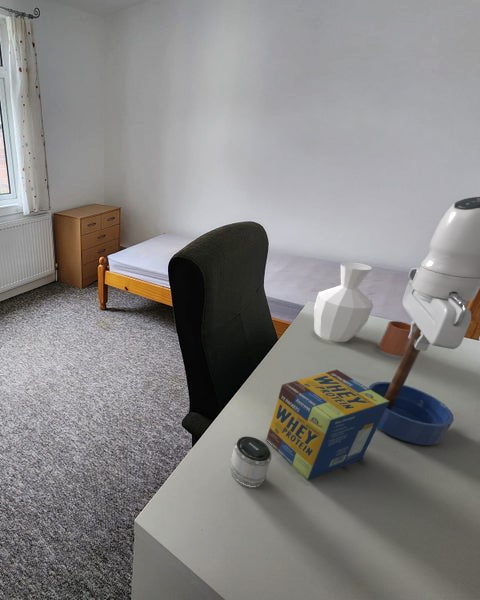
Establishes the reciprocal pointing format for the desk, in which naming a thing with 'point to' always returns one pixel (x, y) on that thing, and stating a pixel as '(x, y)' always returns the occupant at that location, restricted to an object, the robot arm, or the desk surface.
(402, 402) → the bowl
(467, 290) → the robot arm
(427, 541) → the desk surface
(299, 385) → the protein box
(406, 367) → the stick
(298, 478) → the desk surface
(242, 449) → the small jar
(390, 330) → the holder
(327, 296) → the vase
